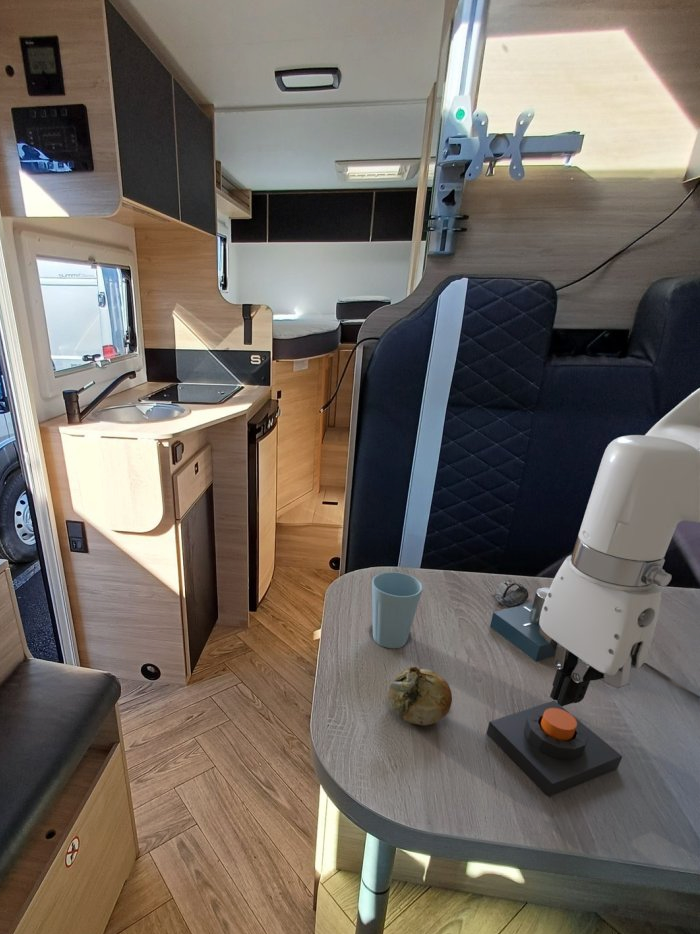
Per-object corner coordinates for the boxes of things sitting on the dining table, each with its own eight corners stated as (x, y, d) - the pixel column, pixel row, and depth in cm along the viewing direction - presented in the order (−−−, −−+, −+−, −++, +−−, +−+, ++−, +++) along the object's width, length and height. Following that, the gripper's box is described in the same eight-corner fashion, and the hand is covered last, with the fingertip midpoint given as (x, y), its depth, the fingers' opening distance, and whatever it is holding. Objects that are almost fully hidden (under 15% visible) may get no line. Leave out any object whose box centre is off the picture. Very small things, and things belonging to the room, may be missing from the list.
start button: (555, 715, 65) (559, 704, 64) (580, 736, 62) (584, 725, 61) (533, 722, 64) (537, 712, 63) (557, 744, 61) (561, 733, 60)
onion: (439, 745, 65) (450, 696, 61) (378, 722, 68) (385, 674, 65) (452, 707, 71) (462, 661, 67) (395, 688, 74) (402, 642, 71)
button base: (550, 712, 70) (557, 689, 69) (617, 769, 62) (627, 745, 60) (485, 734, 67) (492, 710, 65) (547, 797, 58) (556, 772, 57)
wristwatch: (512, 613, 94) (532, 594, 94) (495, 597, 93) (516, 577, 92) (503, 606, 97) (523, 587, 96) (486, 590, 96) (506, 571, 95)
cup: (362, 624, 88) (368, 571, 84) (407, 625, 88) (416, 571, 84) (369, 652, 81) (376, 596, 77) (418, 653, 82) (428, 597, 77)
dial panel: (543, 613, 92) (547, 598, 91) (591, 645, 84) (597, 629, 83) (489, 626, 88) (493, 611, 87) (535, 661, 80) (540, 645, 79)
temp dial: (523, 616, 86) (530, 588, 84) (543, 611, 87) (551, 584, 85) (544, 630, 82) (552, 602, 80) (565, 625, 84) (573, 597, 81)
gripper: (716, 590, 48) (648, 737, 56) (578, 527, 60) (539, 654, 68) (661, 605, 45) (597, 756, 53) (529, 535, 57) (494, 667, 66)
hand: (565, 698), depth 61 cm, fingers closed
